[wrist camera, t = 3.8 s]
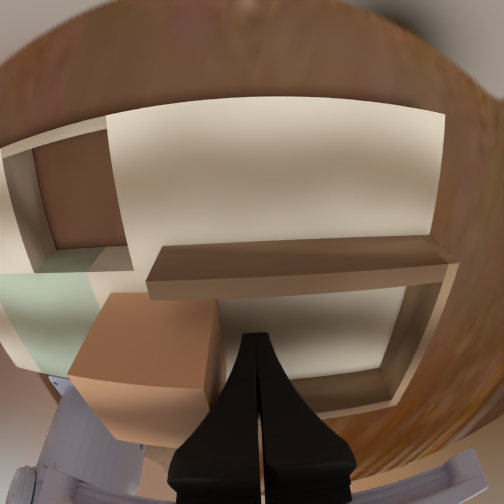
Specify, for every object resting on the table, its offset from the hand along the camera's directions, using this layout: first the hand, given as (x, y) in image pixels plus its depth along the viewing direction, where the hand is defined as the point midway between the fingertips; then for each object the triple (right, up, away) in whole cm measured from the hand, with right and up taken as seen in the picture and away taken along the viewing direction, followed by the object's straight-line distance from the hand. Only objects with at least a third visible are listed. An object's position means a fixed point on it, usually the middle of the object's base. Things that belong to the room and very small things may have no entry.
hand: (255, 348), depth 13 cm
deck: (-5, +4, +2) cm, 7 cm away
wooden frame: (+2, +1, +1) cm, 2 cm away
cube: (-4, 0, +1) cm, 4 cm away
